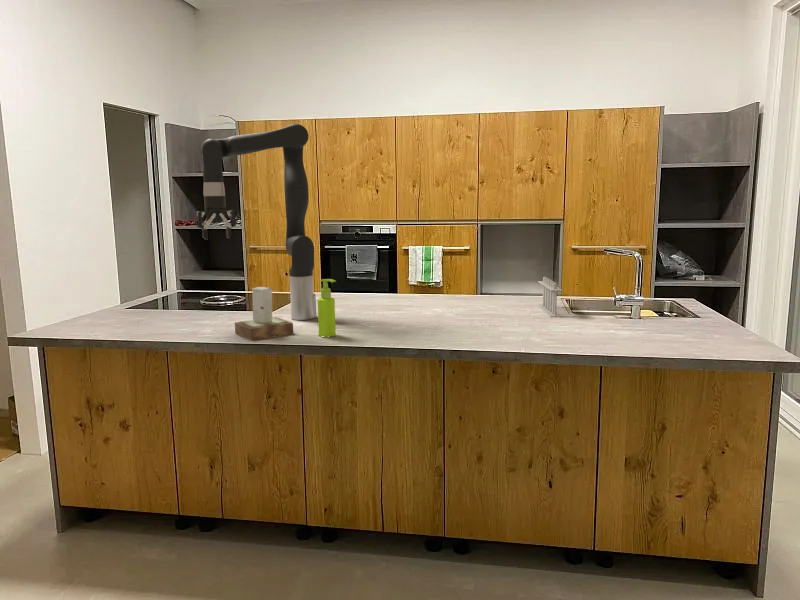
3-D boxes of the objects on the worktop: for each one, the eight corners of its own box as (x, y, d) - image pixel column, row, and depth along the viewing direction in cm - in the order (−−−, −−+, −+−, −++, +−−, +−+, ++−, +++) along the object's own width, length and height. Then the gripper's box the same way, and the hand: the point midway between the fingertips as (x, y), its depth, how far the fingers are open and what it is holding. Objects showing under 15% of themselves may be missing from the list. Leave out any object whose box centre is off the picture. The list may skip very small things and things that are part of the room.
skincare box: (252, 321, 220) (250, 288, 218) (262, 319, 223) (260, 286, 221) (264, 323, 216) (262, 289, 214) (273, 321, 220) (272, 287, 218)
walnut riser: (276, 327, 231) (275, 315, 230) (293, 333, 220) (292, 321, 219) (235, 333, 221) (234, 321, 220) (251, 340, 210) (250, 327, 209)
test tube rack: (561, 317, 241) (562, 284, 239) (550, 317, 241) (551, 284, 239) (547, 306, 266) (548, 275, 263) (537, 306, 266) (538, 276, 264)
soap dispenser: (331, 338, 211) (329, 280, 208) (315, 336, 215) (313, 279, 211) (341, 335, 216) (339, 278, 213) (325, 333, 220) (323, 277, 216)
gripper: (198, 195, 220) (202, 240, 223) (236, 194, 229) (239, 238, 231) (191, 195, 226) (195, 239, 229) (229, 194, 235) (231, 237, 237)
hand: (217, 238), depth 230 cm, fingers open, 8 cm apart
